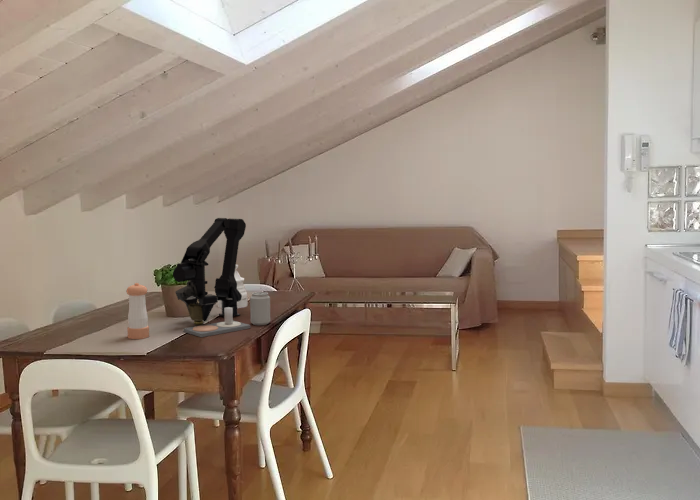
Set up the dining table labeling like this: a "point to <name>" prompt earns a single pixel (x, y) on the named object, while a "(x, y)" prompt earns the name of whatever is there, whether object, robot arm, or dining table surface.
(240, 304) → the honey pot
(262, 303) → the can
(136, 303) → the pepper shaker
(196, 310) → the decorative vase
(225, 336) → the dining table surface
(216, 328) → the board
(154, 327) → the dining table surface
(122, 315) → the dining table surface
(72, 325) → the dining table surface
